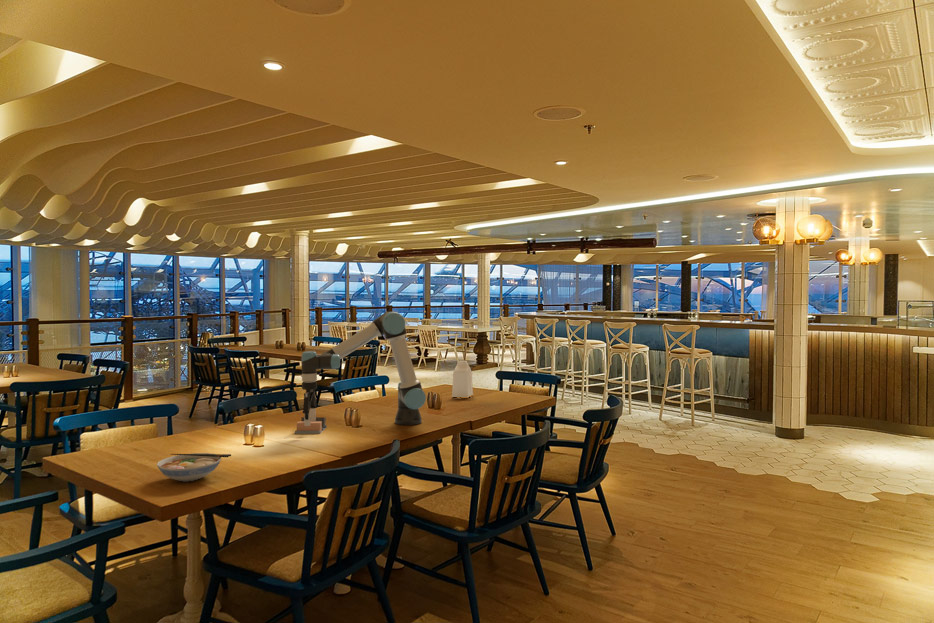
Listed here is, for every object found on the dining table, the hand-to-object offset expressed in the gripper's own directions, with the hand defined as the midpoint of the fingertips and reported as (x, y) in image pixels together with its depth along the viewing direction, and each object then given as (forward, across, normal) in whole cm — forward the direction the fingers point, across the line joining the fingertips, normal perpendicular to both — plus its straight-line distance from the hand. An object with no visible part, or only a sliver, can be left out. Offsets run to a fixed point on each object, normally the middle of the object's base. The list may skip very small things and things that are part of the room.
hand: (310, 423), depth 308 cm
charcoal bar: (+4, -8, 0) cm, 9 cm away
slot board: (+5, -3, 0) cm, 6 cm away
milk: (+7, -116, +80) cm, 141 cm away
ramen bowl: (+5, +78, -28) cm, 83 cm away
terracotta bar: (+4, 0, 0) cm, 4 cm away
